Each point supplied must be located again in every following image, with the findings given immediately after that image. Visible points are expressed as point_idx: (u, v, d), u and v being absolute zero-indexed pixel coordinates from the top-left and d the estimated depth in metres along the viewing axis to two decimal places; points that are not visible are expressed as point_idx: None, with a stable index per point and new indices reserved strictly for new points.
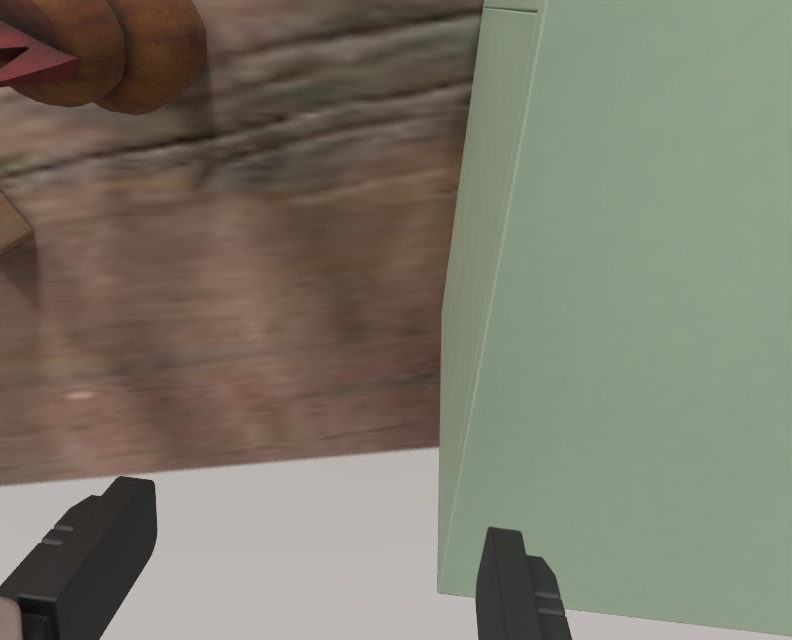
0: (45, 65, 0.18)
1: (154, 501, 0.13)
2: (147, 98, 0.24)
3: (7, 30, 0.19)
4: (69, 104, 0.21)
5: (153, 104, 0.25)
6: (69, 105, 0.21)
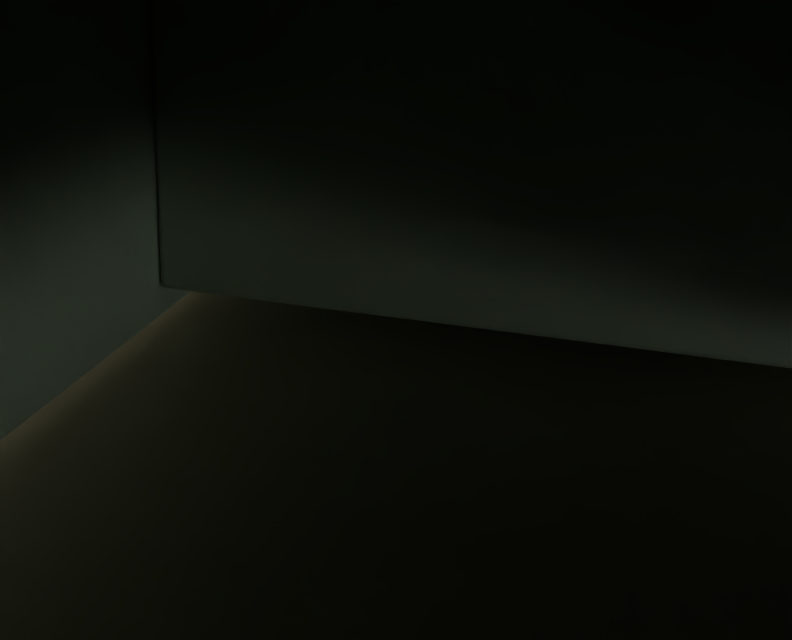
0: None
1: None
2: None
3: None
4: None
5: None
6: None
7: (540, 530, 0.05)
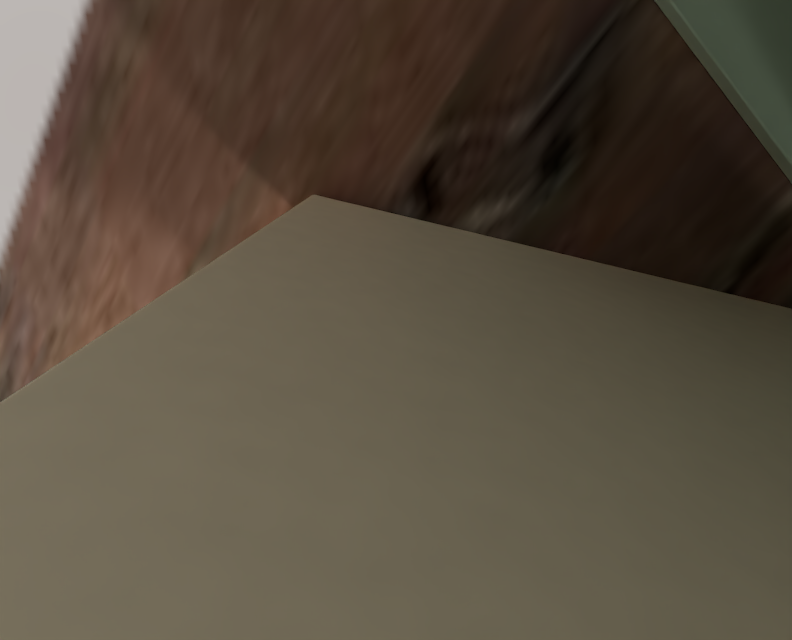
0: None
1: None
2: None
3: None
4: None
5: None
6: None
7: (605, 542, 0.05)
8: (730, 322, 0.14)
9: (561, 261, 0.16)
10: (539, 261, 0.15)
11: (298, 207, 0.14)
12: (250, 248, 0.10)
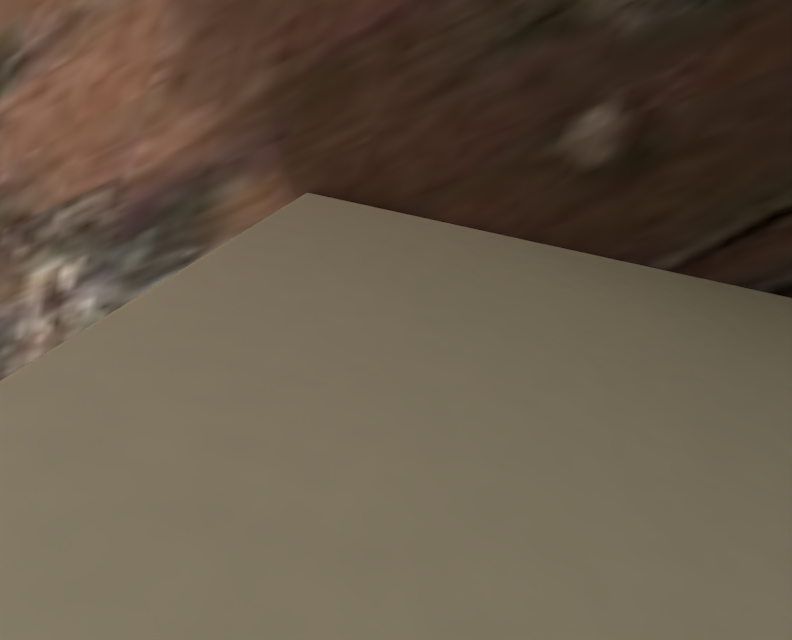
0: None
1: None
2: None
3: None
4: None
5: None
6: None
7: (607, 523, 0.05)
8: (729, 311, 0.13)
9: (558, 254, 0.16)
10: (535, 254, 0.15)
11: (292, 204, 0.14)
12: (242, 243, 0.10)
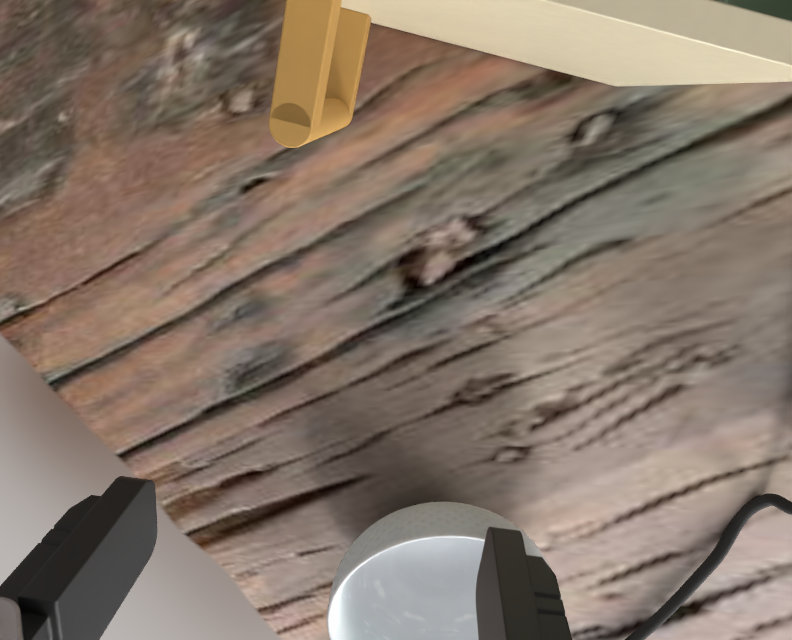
0: None
1: (154, 501, 0.13)
2: None
3: None
4: None
5: None
6: None
7: None
8: None
9: None
10: None
11: None
12: None
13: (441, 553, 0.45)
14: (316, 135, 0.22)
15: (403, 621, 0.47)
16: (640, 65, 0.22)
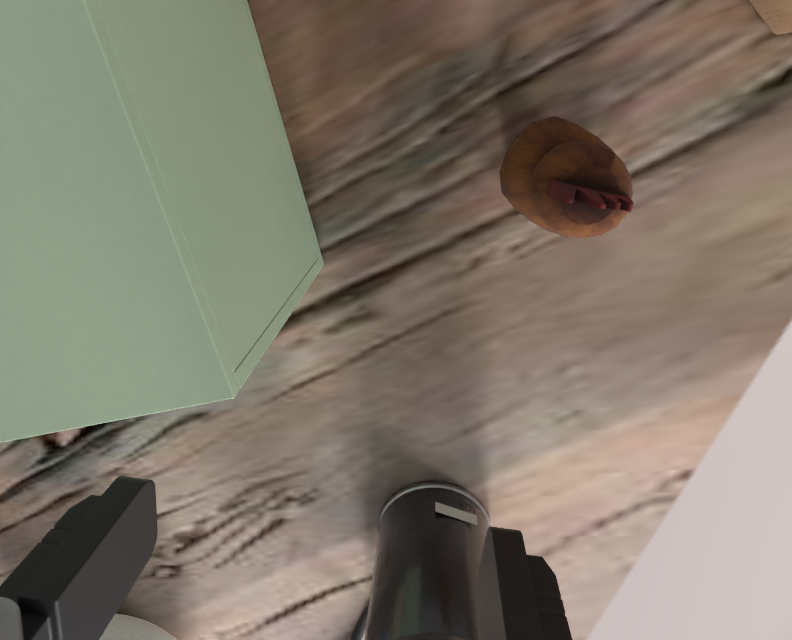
0: None
1: (154, 501, 0.13)
2: (524, 148, 0.31)
3: None
4: (562, 151, 0.27)
5: (523, 140, 0.31)
6: (563, 149, 0.27)
7: None
8: None
9: None
10: None
11: None
12: None
13: None
14: None
15: None
16: None
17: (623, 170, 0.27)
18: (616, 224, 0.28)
